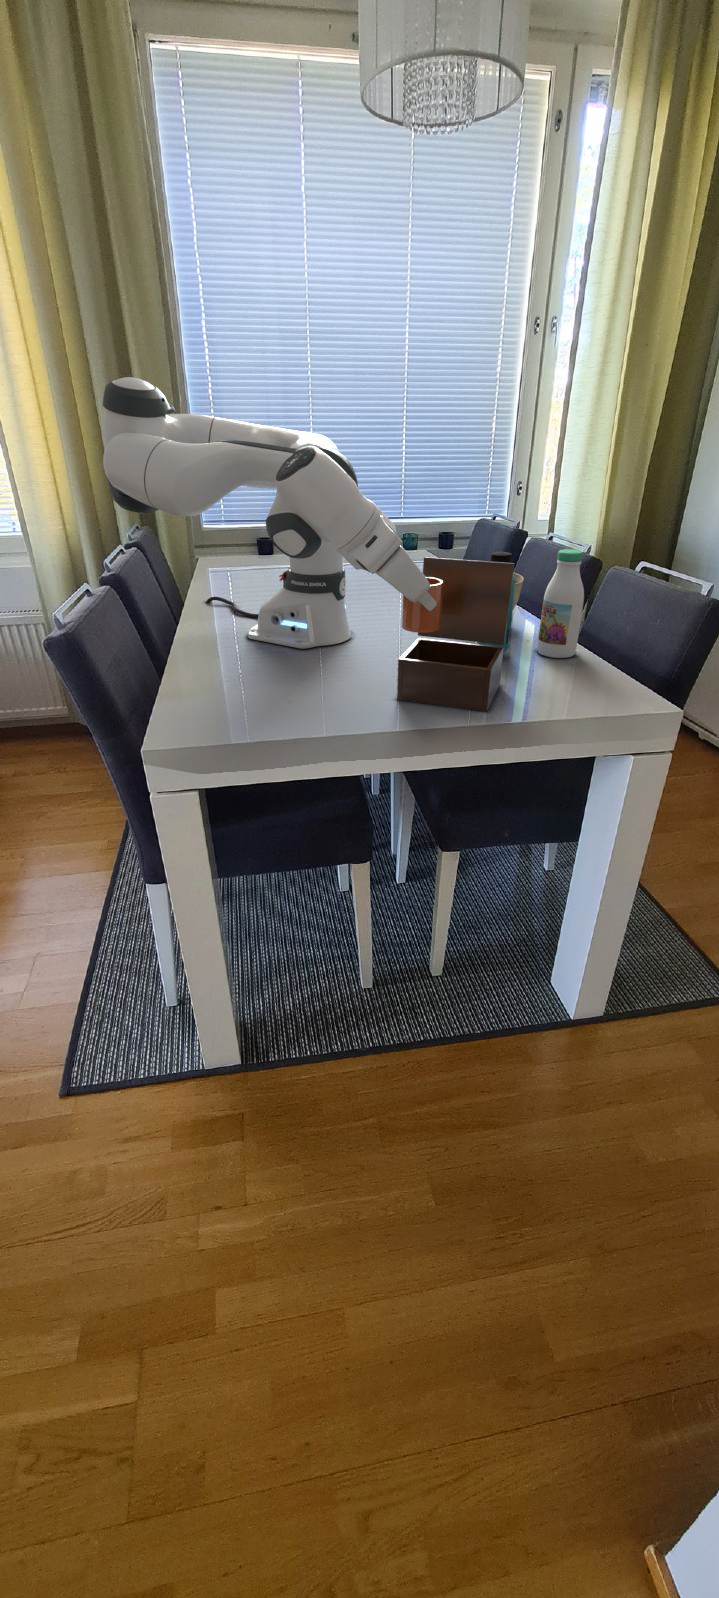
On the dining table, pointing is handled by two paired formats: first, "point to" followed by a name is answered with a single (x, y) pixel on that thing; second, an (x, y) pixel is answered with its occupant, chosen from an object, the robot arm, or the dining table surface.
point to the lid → (472, 598)
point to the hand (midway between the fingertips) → (425, 600)
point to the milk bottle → (562, 608)
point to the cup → (423, 611)
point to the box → (450, 674)
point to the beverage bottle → (507, 558)
